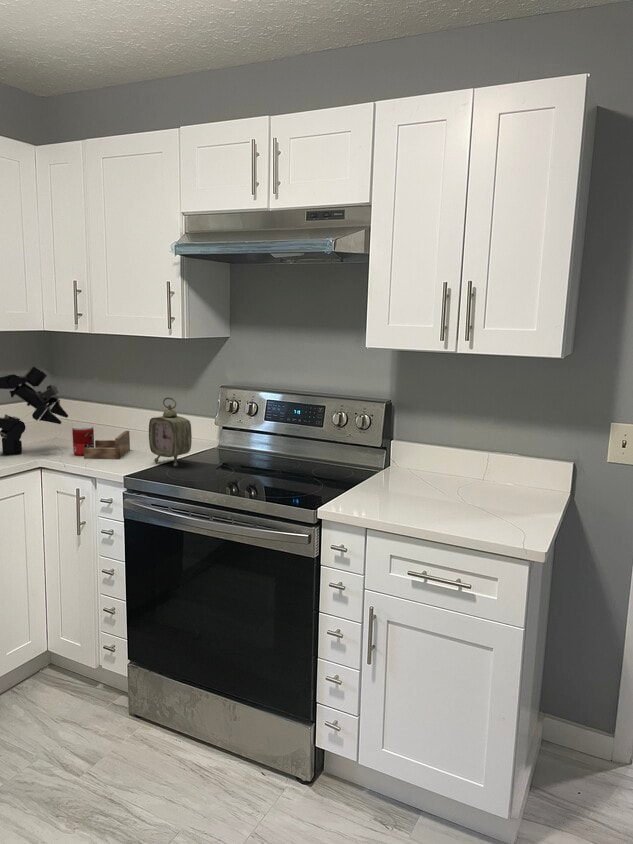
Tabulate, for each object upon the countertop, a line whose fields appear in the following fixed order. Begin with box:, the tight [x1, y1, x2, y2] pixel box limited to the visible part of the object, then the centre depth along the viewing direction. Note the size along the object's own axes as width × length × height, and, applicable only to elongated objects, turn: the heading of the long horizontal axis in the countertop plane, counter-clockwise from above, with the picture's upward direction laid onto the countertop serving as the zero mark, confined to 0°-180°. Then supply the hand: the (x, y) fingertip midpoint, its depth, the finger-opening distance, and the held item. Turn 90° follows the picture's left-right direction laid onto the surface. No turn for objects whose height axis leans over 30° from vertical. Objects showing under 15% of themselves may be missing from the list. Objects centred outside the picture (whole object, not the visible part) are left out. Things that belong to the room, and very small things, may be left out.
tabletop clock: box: [148, 397, 193, 467], centre depth 238 cm, size 14×9×25 cm, turn 54°
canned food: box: [71, 424, 95, 457], centre depth 252 cm, size 8×8×11 cm
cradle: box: [83, 430, 131, 460], centre depth 253 cm, size 14×16×8 cm
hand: (64, 419), depth 256 cm, fingers open, 9 cm apart
